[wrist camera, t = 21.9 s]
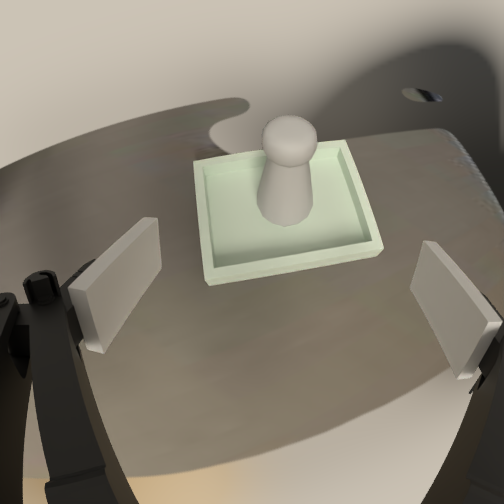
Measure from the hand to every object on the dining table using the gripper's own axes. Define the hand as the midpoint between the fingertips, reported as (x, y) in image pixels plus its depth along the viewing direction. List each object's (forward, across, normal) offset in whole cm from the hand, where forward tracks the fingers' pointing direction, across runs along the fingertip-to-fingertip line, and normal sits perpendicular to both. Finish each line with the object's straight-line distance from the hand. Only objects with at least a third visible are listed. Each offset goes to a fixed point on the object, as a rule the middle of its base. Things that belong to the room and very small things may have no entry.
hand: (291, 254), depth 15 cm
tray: (+20, 0, -4) cm, 20 cm away
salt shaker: (+20, 0, -4) cm, 20 cm away
